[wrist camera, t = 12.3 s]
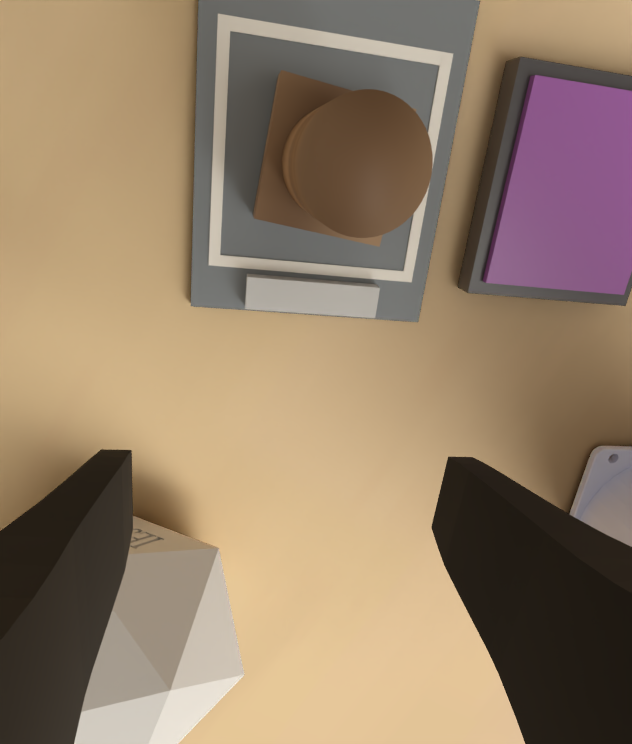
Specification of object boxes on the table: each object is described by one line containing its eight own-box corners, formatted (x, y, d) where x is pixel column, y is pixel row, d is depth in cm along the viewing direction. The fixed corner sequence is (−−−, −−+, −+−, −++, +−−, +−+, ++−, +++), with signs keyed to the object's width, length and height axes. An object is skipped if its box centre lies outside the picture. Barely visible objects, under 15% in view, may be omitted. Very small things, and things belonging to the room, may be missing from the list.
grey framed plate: (476, 3, 17) (488, -5, 16) (415, 319, 21) (423, 326, 20) (200, -50, 16) (198, -61, 15) (191, 304, 20) (189, 310, 19)
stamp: (401, 113, 18) (475, 93, 12) (368, 240, 19) (421, 272, 14) (277, 77, 17) (298, 39, 11) (252, 213, 18) (261, 237, 13)
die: (226, 458, 23) (11, 557, 14) (316, 645, 22) (147, 874, 13) (112, 517, 27) (-114, 625, 18) (185, 680, 26) (-15, 876, 17)
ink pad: (677, 91, 19) (706, 86, 18) (609, 299, 22) (630, 307, 21) (505, 61, 18) (525, 55, 17) (457, 287, 21) (470, 294, 20)
